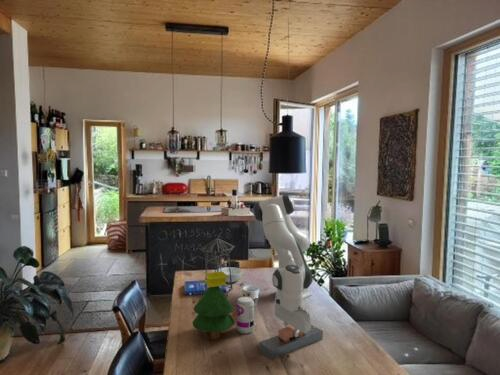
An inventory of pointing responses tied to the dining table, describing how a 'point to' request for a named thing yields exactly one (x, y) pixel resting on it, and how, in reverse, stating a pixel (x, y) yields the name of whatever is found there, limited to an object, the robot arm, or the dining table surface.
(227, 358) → the dining table surface
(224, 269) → the cereal bowl
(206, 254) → the geometric lantern
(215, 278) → the decorative tree
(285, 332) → the pink notched block
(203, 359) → the dining table surface
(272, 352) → the rail
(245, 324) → the supplement can
